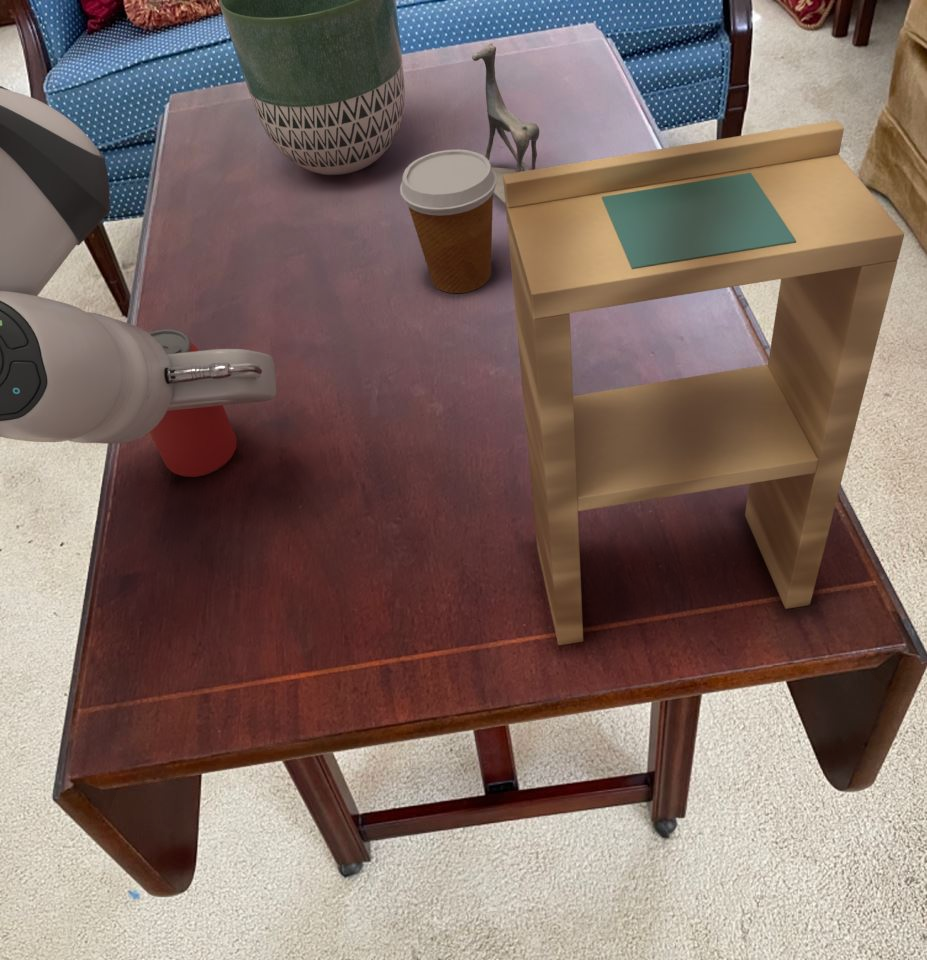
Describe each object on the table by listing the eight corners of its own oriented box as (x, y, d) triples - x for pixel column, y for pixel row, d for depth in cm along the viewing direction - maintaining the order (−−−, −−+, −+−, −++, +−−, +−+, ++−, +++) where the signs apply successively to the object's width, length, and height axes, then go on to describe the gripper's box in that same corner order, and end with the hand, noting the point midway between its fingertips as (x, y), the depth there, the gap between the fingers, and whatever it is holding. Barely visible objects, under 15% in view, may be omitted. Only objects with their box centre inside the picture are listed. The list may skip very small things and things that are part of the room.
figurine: (556, 198, 108) (550, 67, 97) (502, 211, 107) (490, 81, 96) (527, 156, 115) (518, 30, 104) (476, 168, 114) (462, 42, 104)
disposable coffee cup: (424, 311, 96) (405, 205, 87) (410, 261, 102) (391, 158, 94) (515, 291, 96) (505, 184, 87) (495, 243, 103) (484, 139, 94)
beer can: (231, 478, 82) (186, 373, 73) (158, 483, 83) (105, 379, 74) (244, 426, 86) (203, 321, 78) (175, 432, 87) (127, 328, 78)
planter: (429, 121, 125) (402, -56, 109) (410, 198, 111) (377, 9, 96) (288, 131, 127) (243, -40, 112) (253, 207, 114) (197, 25, 99)
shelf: (558, 645, 66) (529, 267, 44) (537, 548, 73) (502, 174, 50) (810, 605, 66) (912, 205, 44) (767, 511, 72) (837, 119, 50)
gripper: (244, 321, 66) (293, 344, 79) (-36, 350, 67) (60, 368, 81) (252, 411, 66) (300, 418, 79) (-27, 438, 67) (67, 441, 81)
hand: (177, 393), depth 80 cm, fingers open, 8 cm apart
